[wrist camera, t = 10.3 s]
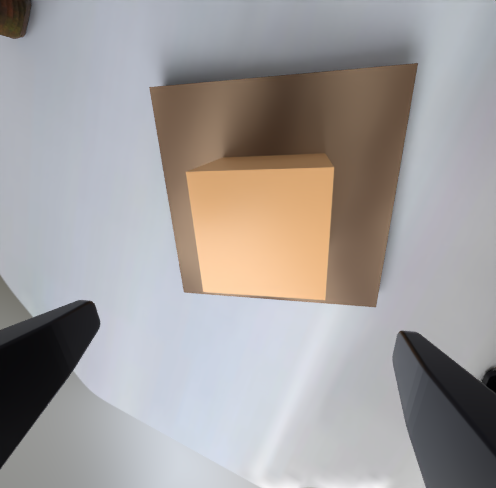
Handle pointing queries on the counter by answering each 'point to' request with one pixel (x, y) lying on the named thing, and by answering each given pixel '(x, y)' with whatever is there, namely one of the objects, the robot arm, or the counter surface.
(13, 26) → the bolt
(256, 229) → the peach wooden cube
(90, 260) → the counter surface
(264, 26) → the counter surface
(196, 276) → the post board
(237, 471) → the counter surface
